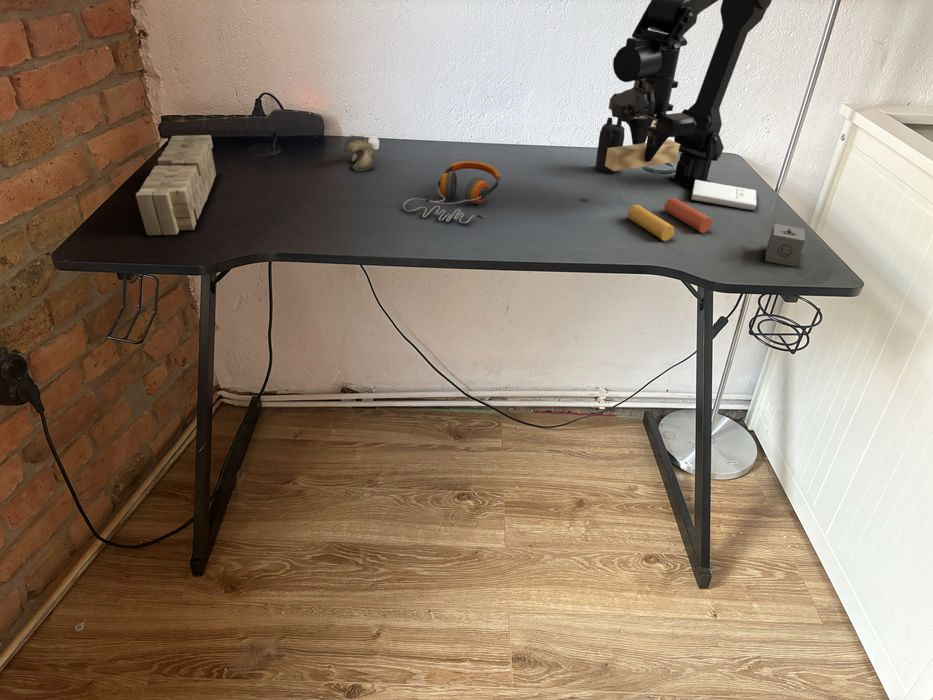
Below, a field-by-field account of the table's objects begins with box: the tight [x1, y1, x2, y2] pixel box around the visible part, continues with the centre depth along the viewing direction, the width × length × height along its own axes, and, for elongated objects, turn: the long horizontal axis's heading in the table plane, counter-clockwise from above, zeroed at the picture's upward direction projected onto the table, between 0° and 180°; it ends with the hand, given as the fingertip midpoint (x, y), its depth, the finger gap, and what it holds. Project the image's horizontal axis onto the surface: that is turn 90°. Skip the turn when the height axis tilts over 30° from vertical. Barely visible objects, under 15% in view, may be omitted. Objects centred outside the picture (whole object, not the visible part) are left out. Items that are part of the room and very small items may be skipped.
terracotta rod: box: [664, 197, 713, 234], centre depth 131 cm, size 3×10×3 cm, turn 26°
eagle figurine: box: [341, 134, 380, 172], centre depth 149 cm, size 8×7×9 cm
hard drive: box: [690, 180, 757, 211], centre depth 141 cm, size 2×8×12 cm
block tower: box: [135, 134, 217, 236], centre depth 128 cm, size 8×8×29 cm
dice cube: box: [764, 223, 806, 267], centre depth 120 cm, size 5×5×5 cm
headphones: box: [402, 160, 501, 224], centre depth 134 cm, size 17×5×20 cm
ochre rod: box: [627, 204, 675, 242], centre depth 128 cm, size 3×10×3 cm, turn 26°
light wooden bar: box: [605, 139, 680, 172], centre depth 132 cm, size 15×3×4 cm, turn 116°
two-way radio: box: [595, 116, 625, 174], centre depth 148 cm, size 6×4×15 cm
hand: (642, 158), depth 132 cm, fingers closed on light wooden bar, 3 cm apart
